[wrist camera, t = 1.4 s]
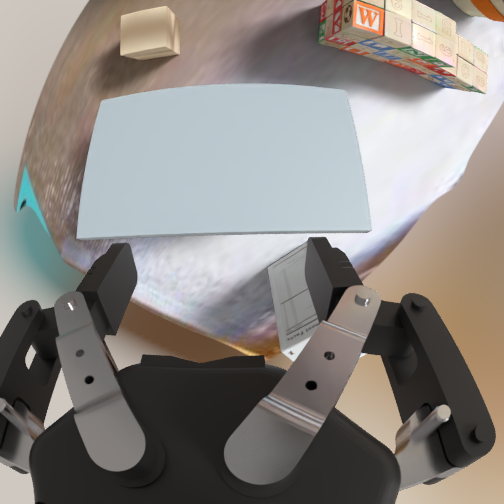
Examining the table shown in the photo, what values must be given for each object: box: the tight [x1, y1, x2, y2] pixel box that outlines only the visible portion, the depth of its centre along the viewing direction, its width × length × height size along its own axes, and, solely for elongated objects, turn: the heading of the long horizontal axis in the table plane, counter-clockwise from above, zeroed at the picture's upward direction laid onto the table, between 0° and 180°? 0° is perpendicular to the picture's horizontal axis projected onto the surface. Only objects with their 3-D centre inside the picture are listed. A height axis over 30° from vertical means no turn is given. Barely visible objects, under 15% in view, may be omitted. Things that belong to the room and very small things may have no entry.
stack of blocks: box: [318, 0, 488, 94], centre depth 21 cm, size 21×6×12 cm, turn 85°
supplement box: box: [267, 242, 365, 362], centre depth 38 cm, size 10×9×17 cm
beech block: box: [120, 6, 180, 60], centre depth 22 cm, size 5×5×7 cm
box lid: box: [77, 84, 372, 240], centre depth 22 cm, size 14×24×1 cm
